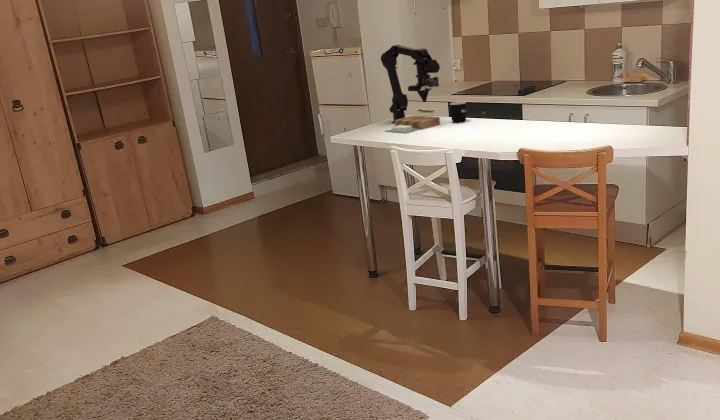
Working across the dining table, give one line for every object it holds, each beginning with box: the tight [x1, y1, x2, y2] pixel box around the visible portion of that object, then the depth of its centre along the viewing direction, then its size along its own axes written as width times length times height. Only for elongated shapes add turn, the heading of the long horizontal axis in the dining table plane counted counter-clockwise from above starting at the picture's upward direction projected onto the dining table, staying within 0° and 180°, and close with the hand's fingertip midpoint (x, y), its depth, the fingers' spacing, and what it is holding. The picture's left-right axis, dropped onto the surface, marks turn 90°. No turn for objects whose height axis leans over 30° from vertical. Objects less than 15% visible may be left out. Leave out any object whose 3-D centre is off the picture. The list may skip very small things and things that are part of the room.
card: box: [391, 125, 412, 132], centre depth 348 cm, size 9×6×2 cm, turn 42°
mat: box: [384, 128, 421, 134], centre depth 349 cm, size 16×11×1 cm
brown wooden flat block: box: [394, 115, 441, 130], centre depth 357 cm, size 20×14×4 cm
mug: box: [449, 101, 467, 124], centre depth 356 cm, size 12×9×10 cm
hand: (424, 102), depth 357 cm, fingers closed
